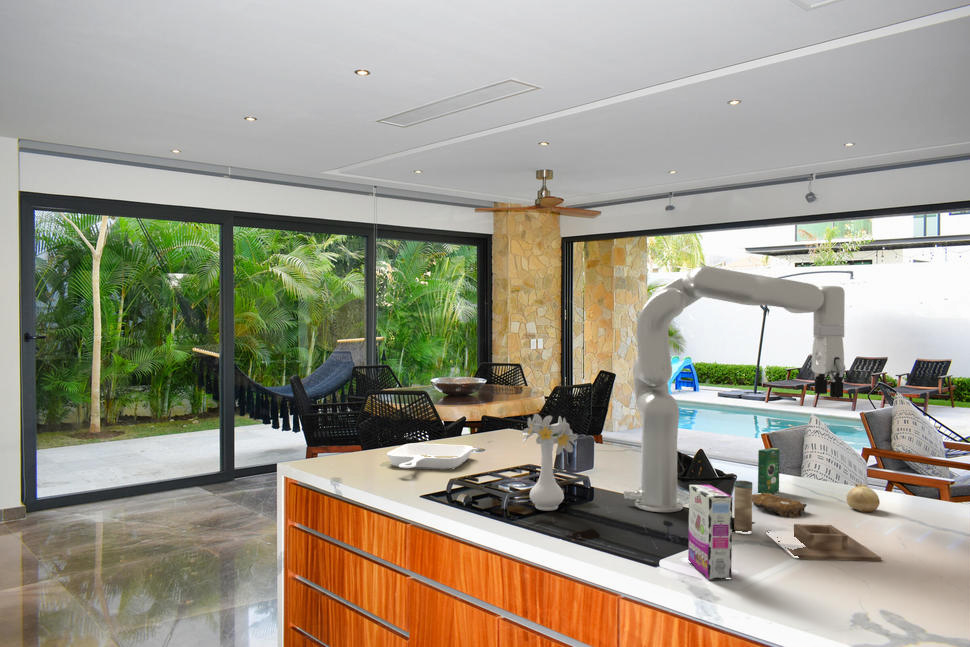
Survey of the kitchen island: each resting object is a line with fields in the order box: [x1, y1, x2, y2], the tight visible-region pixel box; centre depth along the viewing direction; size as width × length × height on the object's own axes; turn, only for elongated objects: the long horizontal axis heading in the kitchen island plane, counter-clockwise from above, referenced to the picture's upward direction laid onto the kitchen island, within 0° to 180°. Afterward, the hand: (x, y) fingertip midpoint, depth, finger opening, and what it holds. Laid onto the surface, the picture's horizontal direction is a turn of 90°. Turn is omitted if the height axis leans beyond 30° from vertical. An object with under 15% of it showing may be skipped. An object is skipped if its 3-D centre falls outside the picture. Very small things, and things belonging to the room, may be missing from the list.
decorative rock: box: [752, 493, 808, 518], centre depth 190 cm, size 11×4×15 cm
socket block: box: [766, 523, 882, 562], centre depth 158 cm, size 18×18×4 cm
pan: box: [386, 442, 474, 471], centre depth 245 cm, size 27×42×5 cm, turn 167°
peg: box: [733, 480, 753, 532], centre depth 169 cm, size 4×4×12 cm
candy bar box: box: [687, 484, 734, 581], centre depth 142 cm, size 11×5×16 cm, turn 5°
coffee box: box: [757, 447, 780, 494], centre depth 210 cm, size 8×3×13 cm, turn 129°
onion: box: [845, 482, 881, 513], centre depth 190 cm, size 8×8×7 cm
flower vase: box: [521, 413, 579, 512], centre depth 190 cm, size 13×18×25 cm
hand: (828, 395), depth 189 cm, fingers open, 9 cm apart
